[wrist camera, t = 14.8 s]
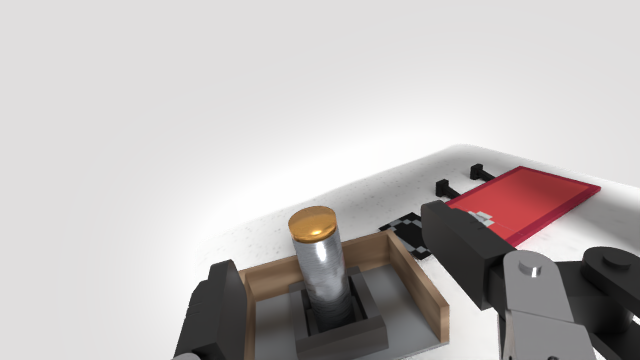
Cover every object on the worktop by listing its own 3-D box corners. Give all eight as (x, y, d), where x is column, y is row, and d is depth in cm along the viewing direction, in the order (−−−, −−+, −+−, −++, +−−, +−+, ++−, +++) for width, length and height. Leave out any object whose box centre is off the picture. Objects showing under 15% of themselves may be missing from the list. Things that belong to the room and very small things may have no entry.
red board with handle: (371, 227, 43) (453, 290, 31) (369, 212, 42) (454, 271, 30) (498, 167, 54) (598, 195, 41) (500, 153, 53) (603, 178, 40)
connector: (331, 302, 31) (306, 203, 26) (363, 316, 29) (344, 210, 24) (310, 332, 29) (278, 227, 23) (344, 349, 26) (317, 238, 21)
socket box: (250, 301, 34) (238, 270, 32) (394, 260, 36) (390, 228, 34) (245, 409, 24) (226, 374, 22) (449, 343, 25) (449, 305, 23)
